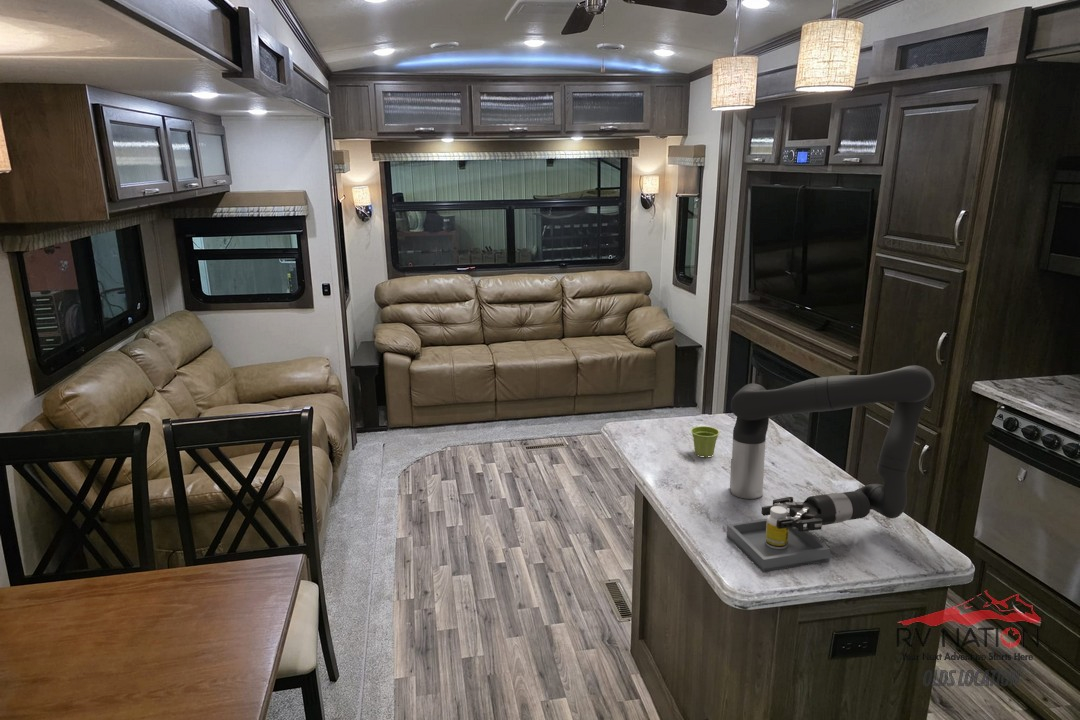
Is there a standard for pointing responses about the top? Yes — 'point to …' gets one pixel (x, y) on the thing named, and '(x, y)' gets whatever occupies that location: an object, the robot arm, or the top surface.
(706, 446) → the plant pot
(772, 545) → the supplement bottle
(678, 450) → the top surface
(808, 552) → the bin
